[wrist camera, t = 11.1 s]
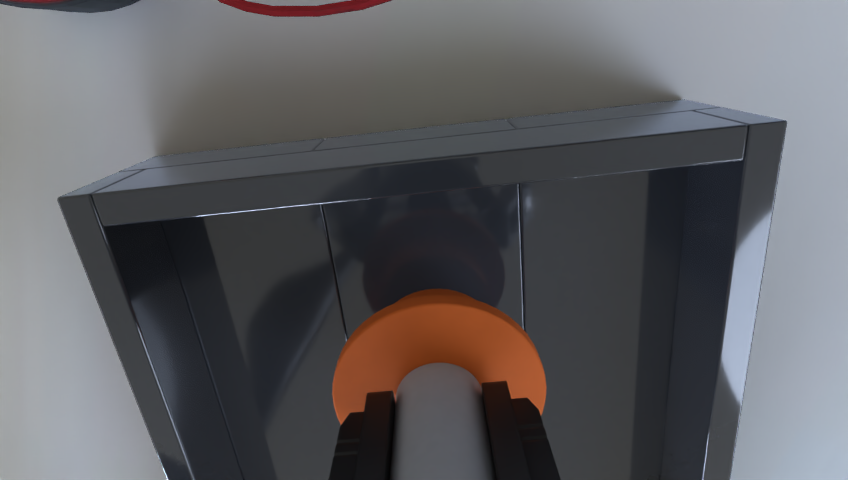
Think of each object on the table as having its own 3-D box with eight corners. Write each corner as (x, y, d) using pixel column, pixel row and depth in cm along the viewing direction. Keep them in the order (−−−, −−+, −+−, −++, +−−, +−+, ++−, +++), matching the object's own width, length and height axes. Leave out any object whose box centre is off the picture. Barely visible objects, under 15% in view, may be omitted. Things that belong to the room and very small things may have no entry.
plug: (361, 422, 19) (320, 666, 11) (331, 270, 16) (257, 453, 9) (530, 408, 19) (600, 647, 11) (525, 251, 16) (608, 424, 9)
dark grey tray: (280, 654, 26) (263, 727, 23) (116, 172, 17) (54, 197, 14) (665, 627, 25) (695, 699, 23) (724, 106, 16) (788, 120, 13)
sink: (292, 604, 28) (280, 654, 26) (154, 156, 19) (116, 172, 17) (645, 578, 28) (665, 627, 25) (685, 98, 18) (724, 106, 16)
